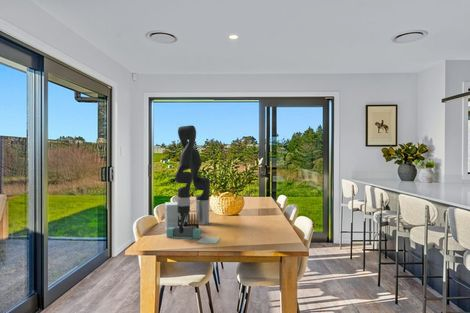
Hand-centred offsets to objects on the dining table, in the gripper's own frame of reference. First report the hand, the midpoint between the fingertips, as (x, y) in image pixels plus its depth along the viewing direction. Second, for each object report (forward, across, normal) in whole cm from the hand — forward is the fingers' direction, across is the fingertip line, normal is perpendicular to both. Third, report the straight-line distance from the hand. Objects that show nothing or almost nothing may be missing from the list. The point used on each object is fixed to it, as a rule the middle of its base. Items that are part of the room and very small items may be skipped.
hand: (183, 231), depth 197 cm
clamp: (+4, 0, 0) cm, 4 cm away
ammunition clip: (+4, -14, 0) cm, 15 cm away
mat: (+4, +6, +17) cm, 19 cm away
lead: (+4, 0, 0) cm, 4 cm away
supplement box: (+4, -19, -12) cm, 23 cm away
